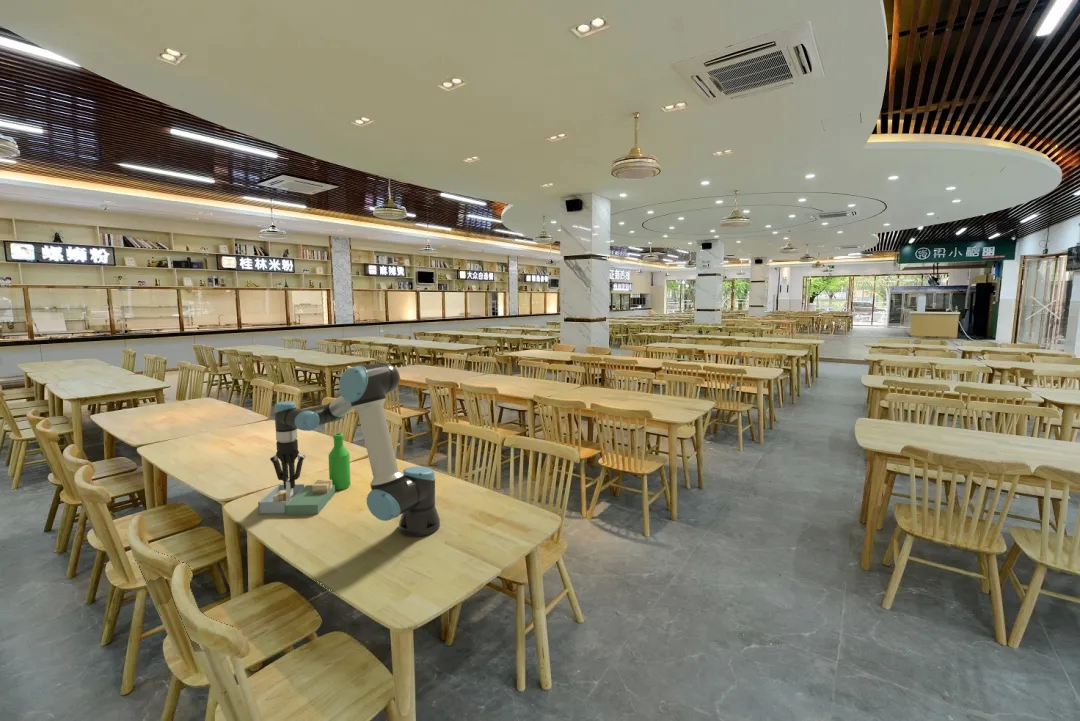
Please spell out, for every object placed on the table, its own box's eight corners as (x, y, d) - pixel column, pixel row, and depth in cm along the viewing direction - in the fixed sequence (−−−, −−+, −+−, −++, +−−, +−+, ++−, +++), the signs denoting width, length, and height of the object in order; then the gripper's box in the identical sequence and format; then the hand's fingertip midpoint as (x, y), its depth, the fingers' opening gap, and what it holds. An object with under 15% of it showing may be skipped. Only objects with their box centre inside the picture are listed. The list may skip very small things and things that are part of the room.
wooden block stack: (327, 493, 195) (327, 485, 195) (312, 493, 194) (312, 485, 194) (332, 487, 201) (332, 479, 200) (318, 487, 200) (317, 480, 200)
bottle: (354, 483, 215) (352, 431, 212) (344, 491, 207) (342, 437, 203) (336, 482, 216) (334, 431, 213) (325, 490, 207) (323, 436, 204)
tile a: (282, 496, 185) (272, 496, 185) (282, 510, 186) (273, 510, 186) (288, 490, 191) (279, 490, 191) (289, 503, 192) (280, 504, 192)
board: (318, 514, 185) (317, 504, 184) (286, 514, 184) (286, 505, 183) (335, 493, 204) (334, 484, 204) (306, 493, 203) (306, 485, 203)
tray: (286, 513, 184) (285, 501, 184) (258, 514, 183) (258, 502, 183) (304, 494, 202) (304, 483, 202) (279, 495, 201) (278, 484, 201)
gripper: (307, 437, 190) (310, 491, 193) (274, 437, 189) (277, 492, 192) (300, 442, 182) (302, 499, 186) (265, 442, 181) (268, 500, 184)
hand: (289, 495), depth 189 cm, fingers closed
